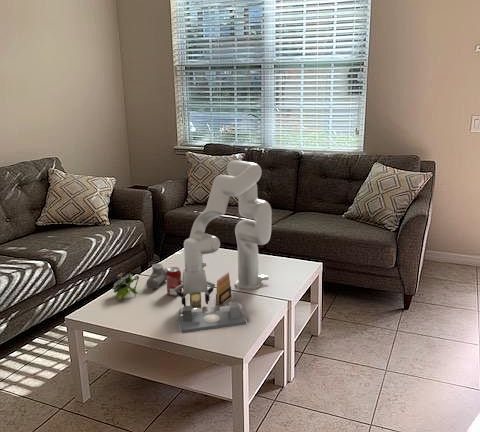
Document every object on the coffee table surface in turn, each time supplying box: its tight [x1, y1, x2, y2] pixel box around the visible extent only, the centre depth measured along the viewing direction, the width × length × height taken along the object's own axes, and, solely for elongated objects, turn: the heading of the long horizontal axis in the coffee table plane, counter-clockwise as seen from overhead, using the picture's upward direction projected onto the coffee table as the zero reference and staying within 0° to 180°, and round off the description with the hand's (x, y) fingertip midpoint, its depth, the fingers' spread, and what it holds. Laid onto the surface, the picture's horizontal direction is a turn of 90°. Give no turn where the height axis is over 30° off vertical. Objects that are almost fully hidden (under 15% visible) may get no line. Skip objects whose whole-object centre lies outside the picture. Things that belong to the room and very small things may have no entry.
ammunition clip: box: [215, 272, 232, 307], centre depth 223 cm, size 11×2×12 cm, turn 152°
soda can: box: [166, 266, 183, 297], centre depth 232 cm, size 7×7×12 cm
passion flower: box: [111, 272, 140, 301], centre depth 231 cm, size 13×12×14 cm
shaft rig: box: [177, 301, 247, 334], centre depth 205 cm, size 26×12×6 cm, turn 104°
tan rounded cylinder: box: [189, 292, 202, 308], centre depth 218 cm, size 5×5×7 cm
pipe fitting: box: [146, 263, 168, 290], centre depth 242 cm, size 12×8×10 cm, turn 163°
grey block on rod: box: [179, 305, 204, 322], centre depth 205 cm, size 9×4×5 cm, turn 89°
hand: (195, 304), depth 219 cm, fingers open, 9 cm apart
